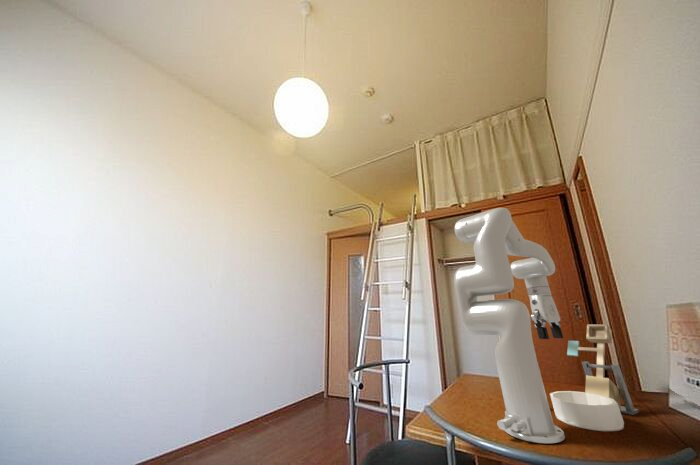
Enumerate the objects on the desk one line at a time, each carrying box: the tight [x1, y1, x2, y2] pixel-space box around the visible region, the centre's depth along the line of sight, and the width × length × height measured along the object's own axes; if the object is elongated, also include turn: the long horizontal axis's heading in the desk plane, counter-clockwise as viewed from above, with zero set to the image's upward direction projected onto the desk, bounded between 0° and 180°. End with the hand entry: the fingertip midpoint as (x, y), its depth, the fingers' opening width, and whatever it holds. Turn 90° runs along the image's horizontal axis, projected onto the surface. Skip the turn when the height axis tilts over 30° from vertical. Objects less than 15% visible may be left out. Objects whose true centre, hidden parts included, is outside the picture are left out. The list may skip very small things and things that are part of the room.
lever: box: [566, 323, 622, 410], centre depth 81 cm, size 23×12×6 cm
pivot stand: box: [581, 361, 640, 416], centre depth 76 cm, size 4×9×12 cm, turn 27°
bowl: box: [549, 390, 625, 432], centre depth 68 cm, size 14×14×5 cm
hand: (551, 338), depth 96 cm, fingers open, 9 cm apart
